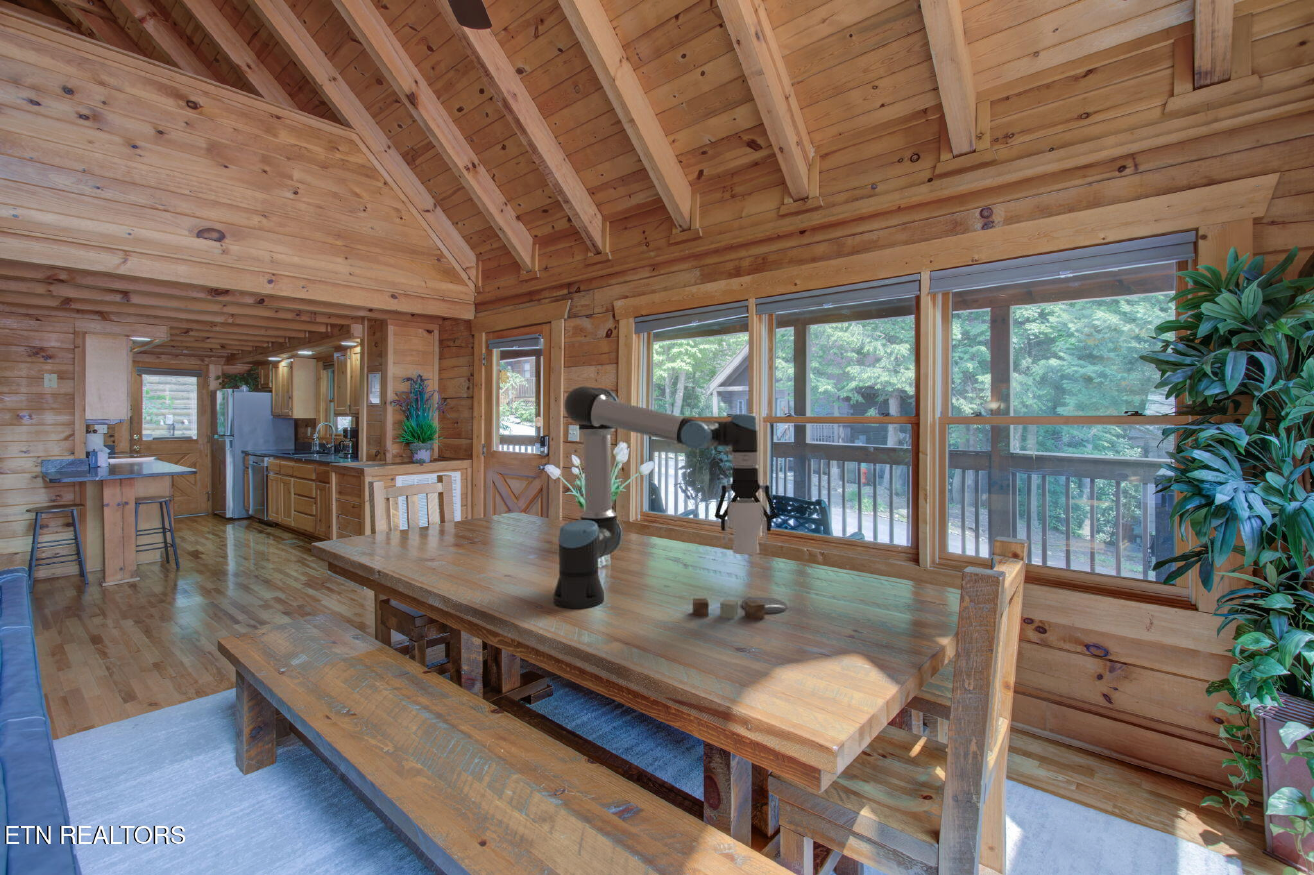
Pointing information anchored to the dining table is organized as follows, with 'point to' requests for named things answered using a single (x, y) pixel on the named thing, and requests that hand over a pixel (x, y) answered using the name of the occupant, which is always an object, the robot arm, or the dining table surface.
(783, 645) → the dining table surface
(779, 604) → the coaster
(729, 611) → the block
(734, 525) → the cup
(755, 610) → the block
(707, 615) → the block
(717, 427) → the robot arm
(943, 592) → the dining table surface
